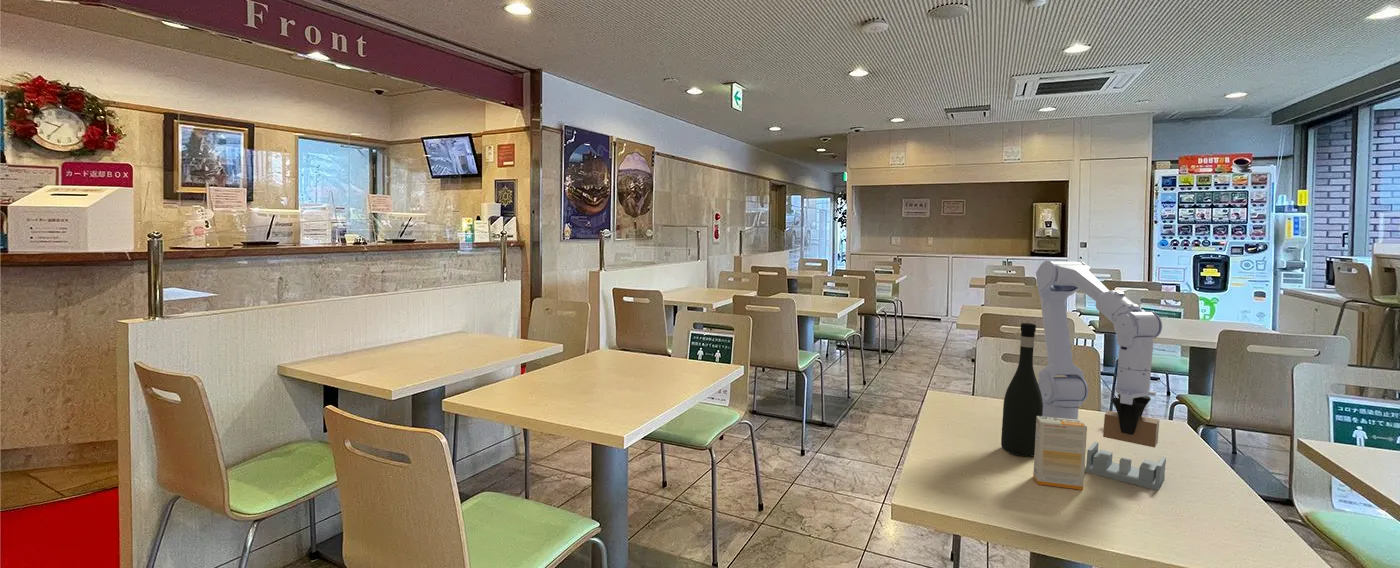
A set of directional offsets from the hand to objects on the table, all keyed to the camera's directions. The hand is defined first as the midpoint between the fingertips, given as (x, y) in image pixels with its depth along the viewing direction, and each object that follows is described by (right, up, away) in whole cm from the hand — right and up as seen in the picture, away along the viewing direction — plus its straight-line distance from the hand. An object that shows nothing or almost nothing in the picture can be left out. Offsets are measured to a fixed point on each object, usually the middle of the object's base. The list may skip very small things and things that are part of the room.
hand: (1129, 431), depth 129 cm
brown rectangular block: (0, -2, 0) cm, 2 cm away
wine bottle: (-17, -8, +12) cm, 22 cm away
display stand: (-2, -9, -1) cm, 9 cm away
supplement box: (-19, -9, -6) cm, 22 cm away
